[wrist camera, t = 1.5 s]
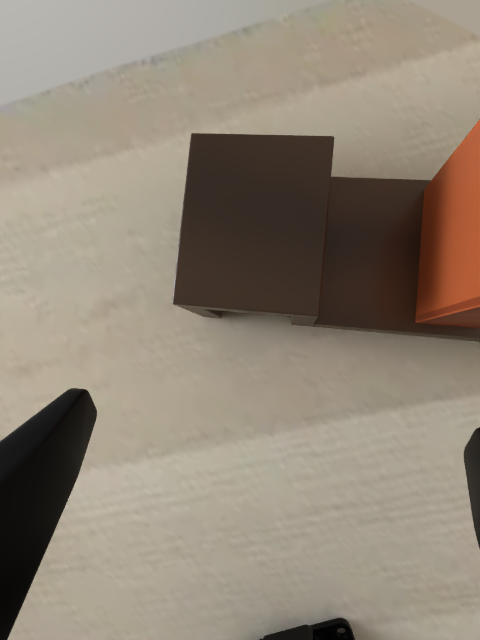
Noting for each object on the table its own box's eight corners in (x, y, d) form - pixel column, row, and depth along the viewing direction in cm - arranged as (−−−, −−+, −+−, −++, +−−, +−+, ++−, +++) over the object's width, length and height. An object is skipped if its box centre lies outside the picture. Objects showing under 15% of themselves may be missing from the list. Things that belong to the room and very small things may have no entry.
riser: (520, 345, 21) (610, 341, 15) (202, 316, 23) (171, 303, 18) (528, 199, 22) (616, 141, 16) (216, 186, 24) (191, 132, 18)
